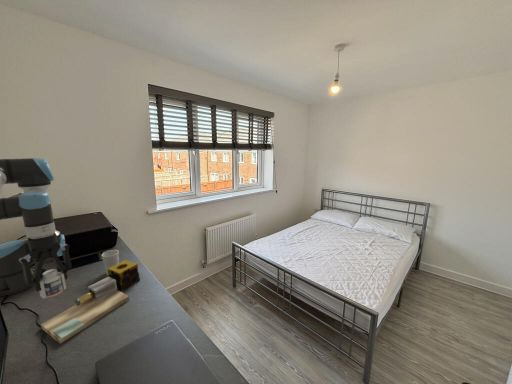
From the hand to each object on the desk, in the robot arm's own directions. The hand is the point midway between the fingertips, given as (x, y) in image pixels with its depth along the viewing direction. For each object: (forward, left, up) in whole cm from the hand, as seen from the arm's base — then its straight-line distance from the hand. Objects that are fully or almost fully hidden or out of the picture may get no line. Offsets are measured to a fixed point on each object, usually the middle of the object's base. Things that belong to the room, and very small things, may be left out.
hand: (53, 292), depth 80 cm
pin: (-3, +11, -13) cm, 17 cm away
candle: (-5, +29, -16) cm, 34 cm away
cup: (-21, +32, -16) cm, 42 cm away
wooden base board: (+1, +9, -16) cm, 19 cm away
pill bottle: (0, 0, -1) cm, 1 cm away
